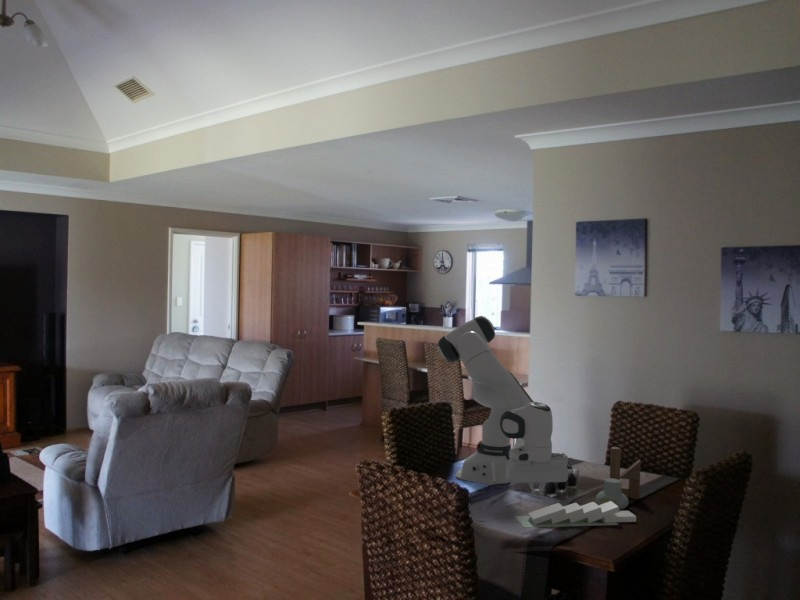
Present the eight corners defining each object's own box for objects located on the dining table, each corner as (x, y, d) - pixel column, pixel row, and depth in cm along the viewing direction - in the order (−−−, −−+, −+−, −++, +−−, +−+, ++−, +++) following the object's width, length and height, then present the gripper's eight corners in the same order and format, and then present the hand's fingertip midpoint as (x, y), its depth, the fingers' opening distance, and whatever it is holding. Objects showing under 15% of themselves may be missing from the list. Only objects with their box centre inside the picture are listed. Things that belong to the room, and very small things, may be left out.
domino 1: (533, 519, 219) (565, 508, 220) (527, 513, 224) (558, 502, 226) (534, 524, 219) (566, 513, 220) (529, 518, 225) (560, 507, 226)
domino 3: (569, 518, 221) (600, 507, 222) (563, 512, 226) (593, 501, 228) (571, 523, 221) (602, 512, 222) (564, 517, 227) (594, 506, 228)
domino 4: (587, 517, 222) (618, 506, 223) (580, 511, 227) (610, 500, 228) (589, 523, 222) (619, 511, 223) (582, 516, 227) (612, 505, 229)
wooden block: (639, 499, 251) (641, 451, 250) (608, 496, 253) (610, 448, 252) (638, 496, 254) (640, 448, 254) (608, 493, 257) (610, 446, 256)
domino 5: (604, 517, 223) (636, 516, 224) (597, 511, 228) (628, 510, 230) (604, 522, 223) (636, 521, 224) (597, 516, 228) (627, 515, 230)
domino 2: (551, 518, 220) (582, 508, 221) (545, 512, 225) (575, 502, 227) (552, 524, 220) (584, 513, 221) (546, 517, 225) (577, 507, 227)
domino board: (524, 530, 216) (524, 527, 216) (514, 519, 226) (514, 516, 226) (618, 527, 221) (619, 524, 221) (605, 516, 231) (605, 513, 231)
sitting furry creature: (530, 458, 304) (531, 431, 304) (511, 457, 306) (512, 430, 305) (530, 453, 314) (531, 427, 313) (511, 452, 315) (512, 426, 315)
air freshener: (630, 508, 241) (631, 480, 240) (625, 515, 233) (626, 486, 233) (599, 502, 246) (600, 475, 246) (593, 508, 239) (594, 480, 239)
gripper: (564, 450, 226) (563, 491, 226) (504, 450, 223) (503, 492, 223) (572, 455, 220) (570, 497, 220) (510, 456, 217) (509, 498, 217)
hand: (536, 495), depth 222 cm, fingers closed
